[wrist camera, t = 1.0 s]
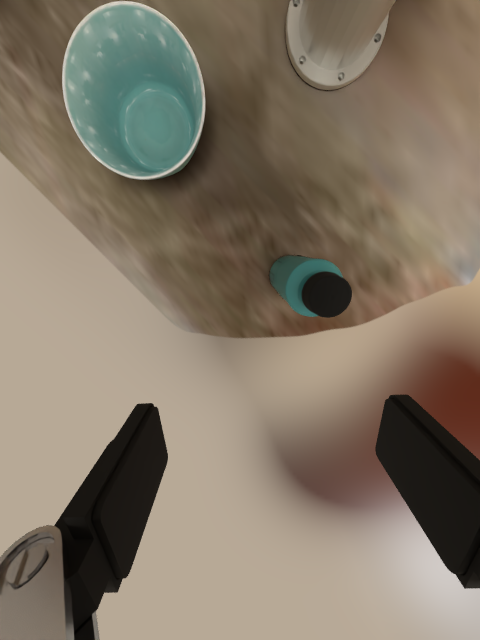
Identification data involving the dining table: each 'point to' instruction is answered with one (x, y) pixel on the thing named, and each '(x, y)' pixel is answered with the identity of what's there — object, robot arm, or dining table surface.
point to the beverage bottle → (311, 285)
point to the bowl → (134, 91)
